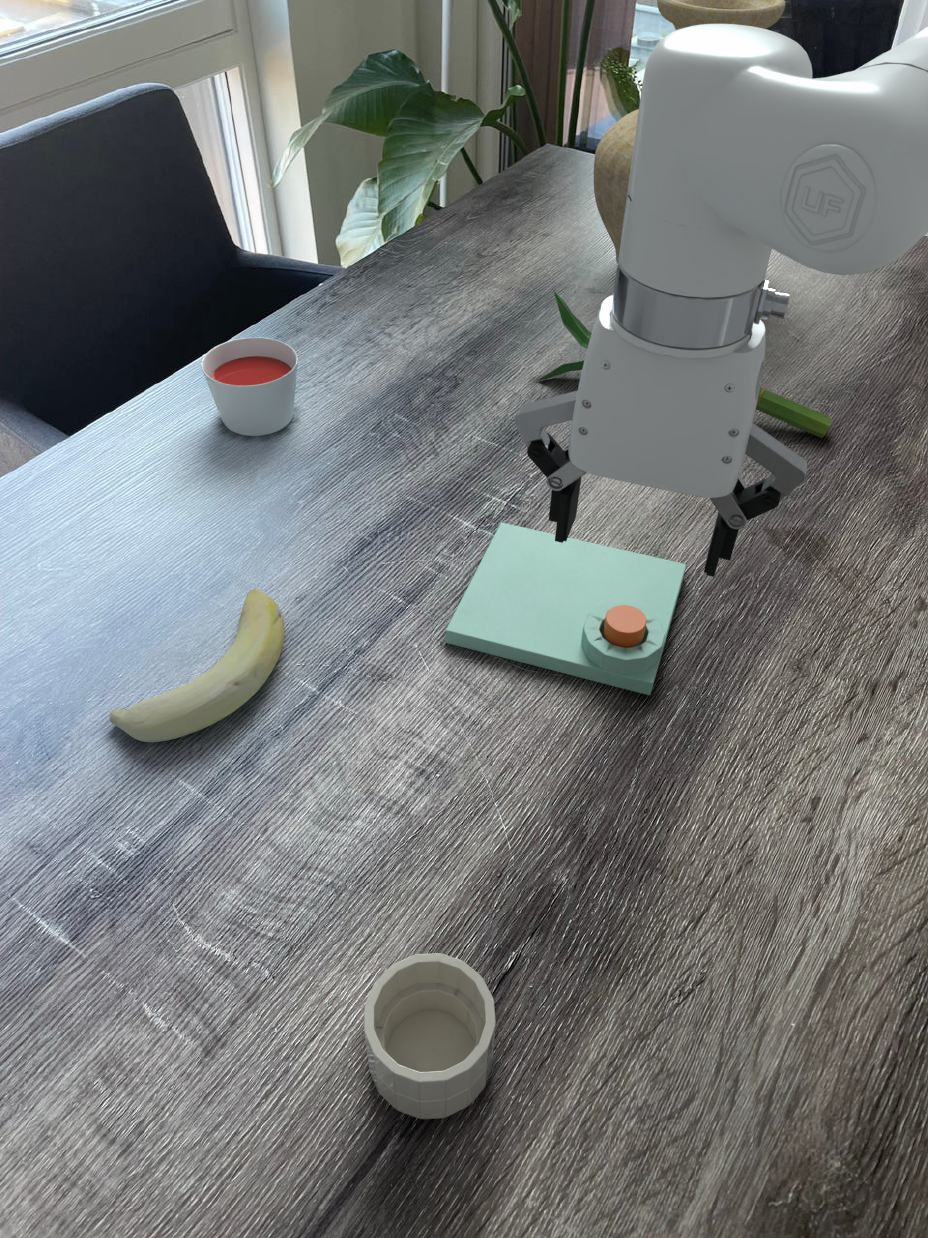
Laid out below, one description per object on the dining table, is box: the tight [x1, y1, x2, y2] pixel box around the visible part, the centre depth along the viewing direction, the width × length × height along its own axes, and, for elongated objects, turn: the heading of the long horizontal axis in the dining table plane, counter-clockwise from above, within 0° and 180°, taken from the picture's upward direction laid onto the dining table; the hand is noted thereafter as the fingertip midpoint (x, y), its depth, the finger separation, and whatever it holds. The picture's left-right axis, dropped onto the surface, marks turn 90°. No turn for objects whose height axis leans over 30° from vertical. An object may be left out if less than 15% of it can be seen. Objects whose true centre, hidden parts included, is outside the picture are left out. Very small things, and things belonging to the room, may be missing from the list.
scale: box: [445, 522, 687, 696], centre depth 79 cm, size 16×14×3 cm
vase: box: [593, 0, 786, 265], centre depth 112 cm, size 22×22×30 cm
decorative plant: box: [537, 291, 834, 439], centre depth 101 cm, size 6×8×30 cm
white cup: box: [363, 952, 497, 1120], centre depth 52 cm, size 7×7×6 cm
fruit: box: [109, 588, 286, 743], centre depth 72 cm, size 7×15×3 cm, turn 145°
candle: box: [200, 336, 299, 437], centre depth 97 cm, size 9×9×6 cm
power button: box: [603, 605, 647, 648], centre depth 74 cm, size 3×3×2 cm
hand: (637, 545), depth 65 cm, fingers open, 9 cm apart
